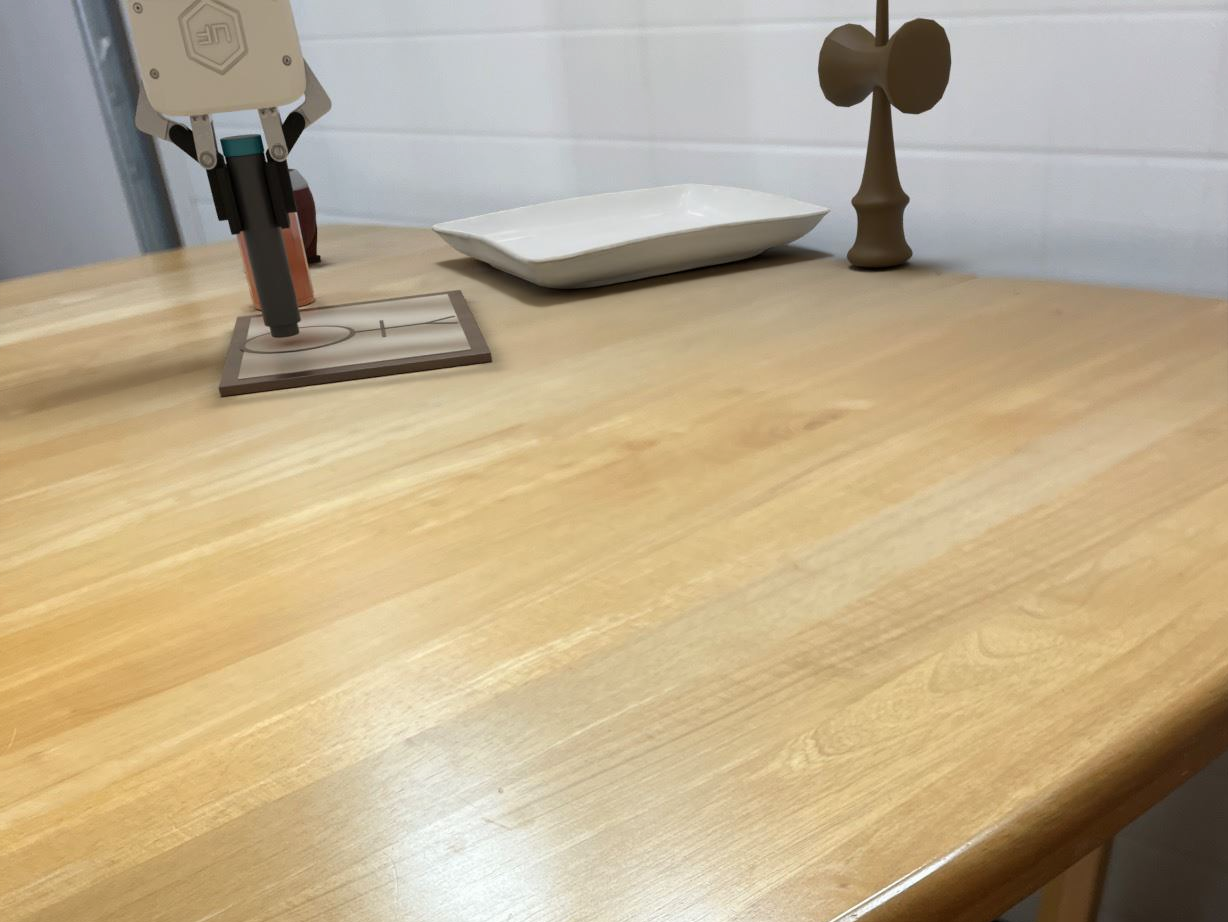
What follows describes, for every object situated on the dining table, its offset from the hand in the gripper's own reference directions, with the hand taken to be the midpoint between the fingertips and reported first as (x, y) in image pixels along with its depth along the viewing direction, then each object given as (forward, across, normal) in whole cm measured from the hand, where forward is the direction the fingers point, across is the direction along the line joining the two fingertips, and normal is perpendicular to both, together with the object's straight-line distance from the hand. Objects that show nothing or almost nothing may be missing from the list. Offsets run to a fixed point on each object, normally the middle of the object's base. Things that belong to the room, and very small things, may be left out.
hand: (260, 226), depth 93 cm
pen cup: (+8, -1, +20) cm, 22 cm away
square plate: (+9, +29, +22) cm, 37 cm away
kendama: (+9, +47, +6) cm, 48 cm away
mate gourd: (+9, -1, +41) cm, 42 cm away
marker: (+7, 0, 0) cm, 7 cm away
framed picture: (+8, +5, +1) cm, 10 cm away
